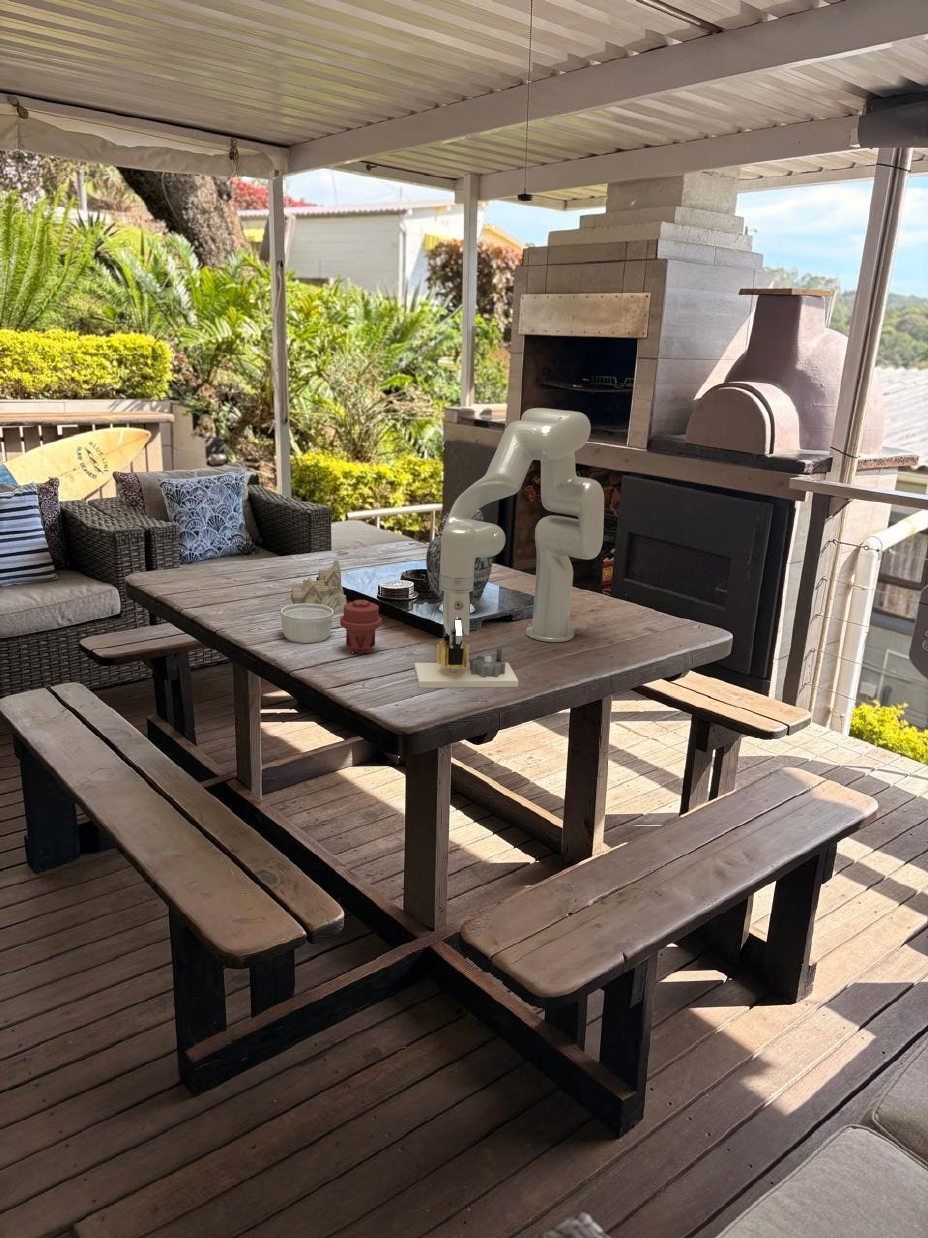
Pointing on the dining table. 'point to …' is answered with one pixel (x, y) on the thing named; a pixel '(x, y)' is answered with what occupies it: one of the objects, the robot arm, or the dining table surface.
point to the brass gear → (443, 654)
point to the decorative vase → (480, 568)
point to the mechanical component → (360, 625)
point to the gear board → (468, 674)
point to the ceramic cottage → (322, 590)
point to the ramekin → (307, 622)
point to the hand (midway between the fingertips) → (452, 658)
